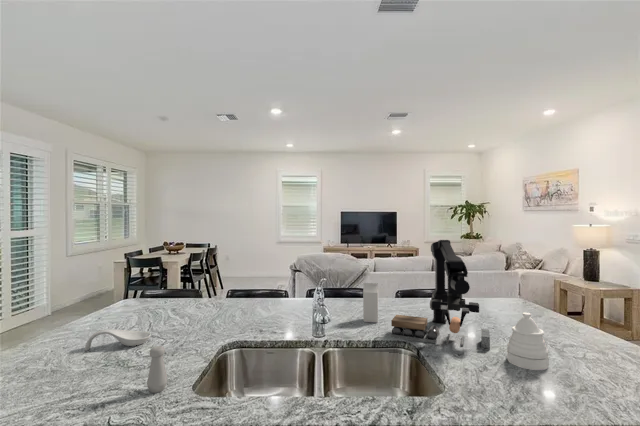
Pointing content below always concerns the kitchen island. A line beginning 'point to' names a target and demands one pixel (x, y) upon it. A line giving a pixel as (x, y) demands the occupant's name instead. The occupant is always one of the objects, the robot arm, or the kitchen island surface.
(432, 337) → the track
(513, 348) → the honey pot
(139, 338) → the spoon rest
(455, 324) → the roller
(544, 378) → the kitchen island surface
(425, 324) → the slab
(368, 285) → the milk carton
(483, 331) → the block
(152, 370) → the salt shaker
